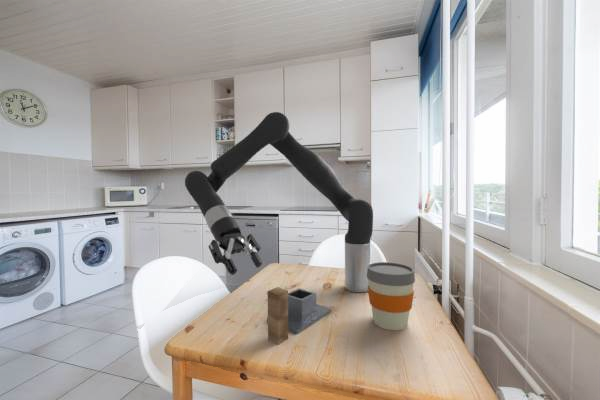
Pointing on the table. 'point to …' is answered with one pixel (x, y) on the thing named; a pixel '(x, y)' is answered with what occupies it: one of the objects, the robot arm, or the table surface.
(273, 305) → the brown square block
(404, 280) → the reusable coffee cup
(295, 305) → the grey square tube bracket
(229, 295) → the table surface
